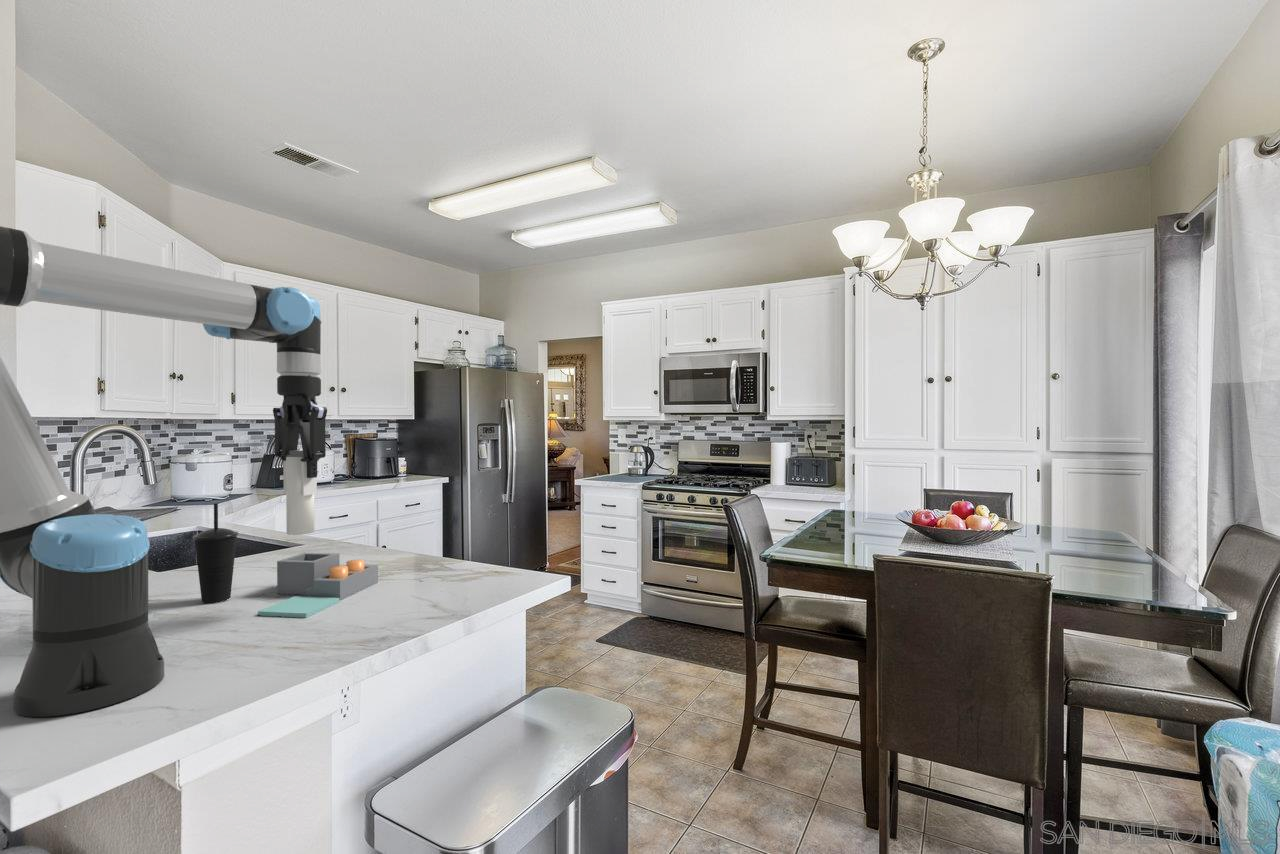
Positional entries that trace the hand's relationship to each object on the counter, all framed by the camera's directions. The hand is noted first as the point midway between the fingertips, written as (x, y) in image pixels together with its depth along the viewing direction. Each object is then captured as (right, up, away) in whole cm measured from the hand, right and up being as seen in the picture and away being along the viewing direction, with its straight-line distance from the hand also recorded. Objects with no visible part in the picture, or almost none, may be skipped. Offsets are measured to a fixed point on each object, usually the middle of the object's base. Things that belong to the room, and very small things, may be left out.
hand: (300, 493), depth 118 cm
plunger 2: (+3, -22, +16) cm, 27 cm away
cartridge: (0, -8, 0) cm, 8 cm away
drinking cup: (-21, -23, +6) cm, 31 cm away
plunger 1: (+3, -22, +10) cm, 24 cm away
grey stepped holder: (-2, -23, +13) cm, 26 cm away
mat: (0, -23, 0) cm, 23 cm away
